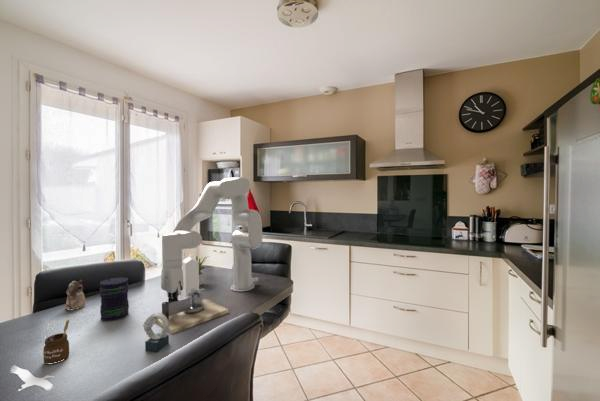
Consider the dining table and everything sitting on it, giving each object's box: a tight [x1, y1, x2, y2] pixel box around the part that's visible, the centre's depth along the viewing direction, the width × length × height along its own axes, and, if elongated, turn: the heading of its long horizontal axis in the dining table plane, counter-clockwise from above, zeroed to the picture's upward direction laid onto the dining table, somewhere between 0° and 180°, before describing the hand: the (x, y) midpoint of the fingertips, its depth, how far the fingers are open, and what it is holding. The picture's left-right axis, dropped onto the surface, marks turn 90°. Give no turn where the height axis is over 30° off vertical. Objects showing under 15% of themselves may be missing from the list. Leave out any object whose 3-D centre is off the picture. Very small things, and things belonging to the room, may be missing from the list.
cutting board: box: [155, 298, 229, 335], centre depth 115 cm, size 24×18×2 cm
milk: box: [182, 253, 200, 298], centre depth 131 cm, size 6×6×22 cm
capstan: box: [161, 288, 206, 319], centre depth 114 cm, size 18×8×8 cm, turn 138°
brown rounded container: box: [42, 318, 70, 364], centre depth 85 cm, size 6×6×12 cm
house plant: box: [195, 255, 210, 286], centre depth 157 cm, size 14×14×16 cm
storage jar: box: [99, 276, 130, 322], centre depth 115 cm, size 10×10×15 cm
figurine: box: [64, 279, 86, 310], centre depth 124 cm, size 7×7×12 cm
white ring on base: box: [142, 312, 170, 353], centre depth 91 cm, size 6×8×11 cm
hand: (173, 306), depth 115 cm, fingers closed
